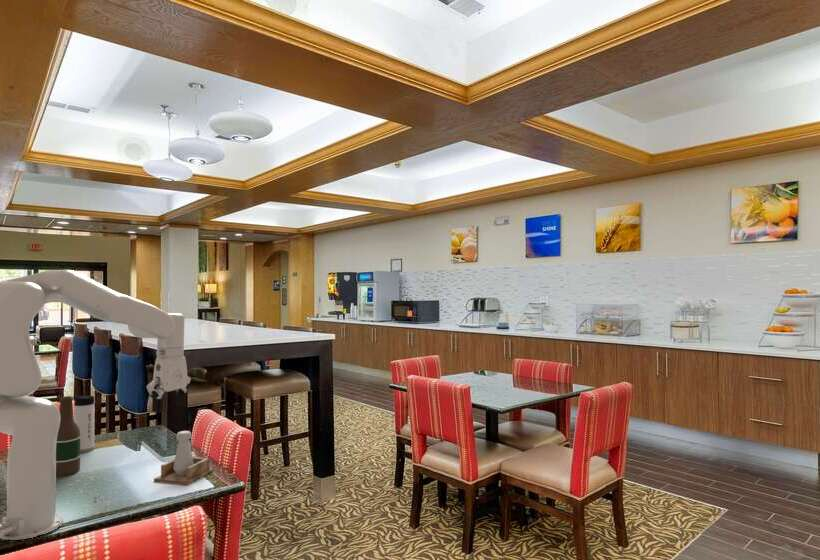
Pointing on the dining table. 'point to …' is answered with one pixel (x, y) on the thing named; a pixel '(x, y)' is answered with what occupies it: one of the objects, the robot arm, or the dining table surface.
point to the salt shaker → (183, 453)
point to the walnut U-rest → (192, 474)
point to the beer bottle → (67, 441)
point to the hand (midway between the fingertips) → (169, 408)
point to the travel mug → (85, 420)
